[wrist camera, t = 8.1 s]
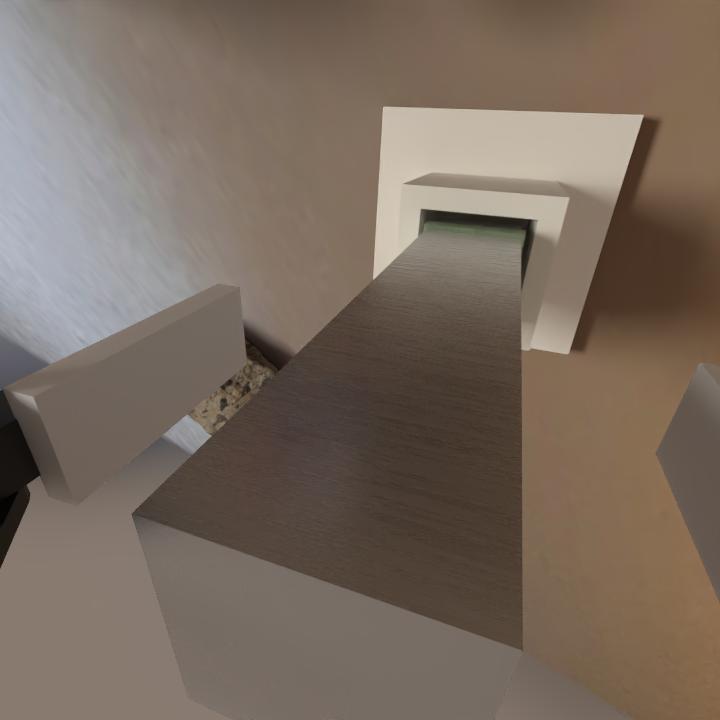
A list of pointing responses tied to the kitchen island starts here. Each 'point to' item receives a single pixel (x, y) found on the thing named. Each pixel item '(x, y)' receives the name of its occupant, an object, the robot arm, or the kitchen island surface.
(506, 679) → the column
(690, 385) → the robot arm
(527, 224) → the stand
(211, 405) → the rock
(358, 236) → the kitchen island surface
